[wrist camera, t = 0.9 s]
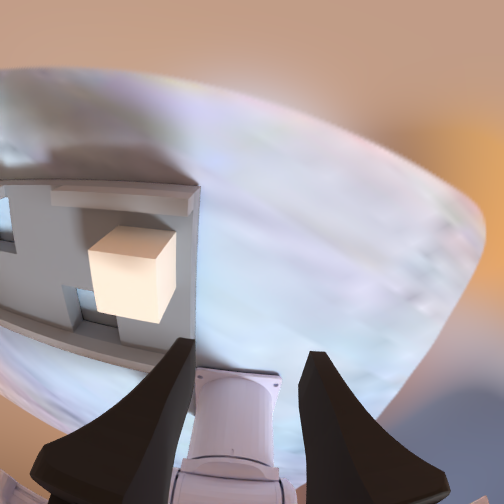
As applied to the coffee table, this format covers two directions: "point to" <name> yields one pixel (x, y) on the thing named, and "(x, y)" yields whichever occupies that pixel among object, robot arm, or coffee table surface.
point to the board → (78, 267)
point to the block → (134, 272)
